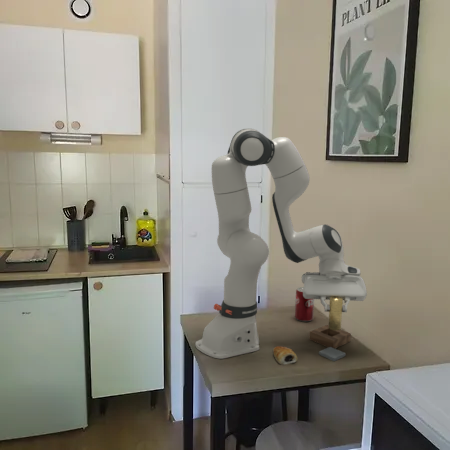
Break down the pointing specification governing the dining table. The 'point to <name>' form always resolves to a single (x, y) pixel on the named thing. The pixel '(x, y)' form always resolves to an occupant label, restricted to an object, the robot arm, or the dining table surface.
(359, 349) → the dining table surface
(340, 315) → the peg
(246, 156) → the robot arm
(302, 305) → the soda can
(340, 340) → the wooden square frame
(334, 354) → the mat
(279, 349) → the pastry
